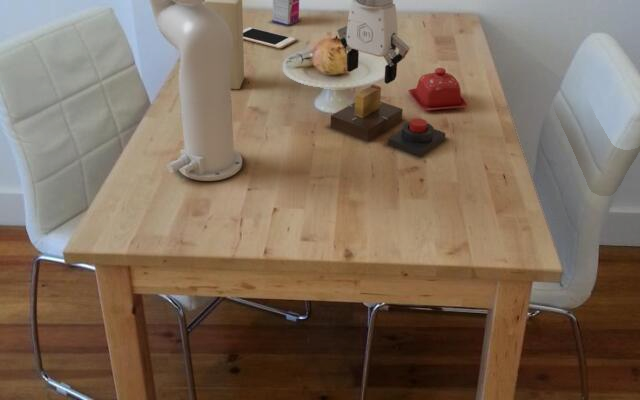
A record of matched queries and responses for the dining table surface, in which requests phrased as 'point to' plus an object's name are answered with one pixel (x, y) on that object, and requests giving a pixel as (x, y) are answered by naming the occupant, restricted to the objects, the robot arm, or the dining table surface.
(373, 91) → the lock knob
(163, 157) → the dining table surface
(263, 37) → the cell phone
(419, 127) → the alarm button
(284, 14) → the supplement box
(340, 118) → the plate
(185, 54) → the robot arm
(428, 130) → the alarm box
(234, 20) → the toy refrigerator
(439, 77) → the butter dish
